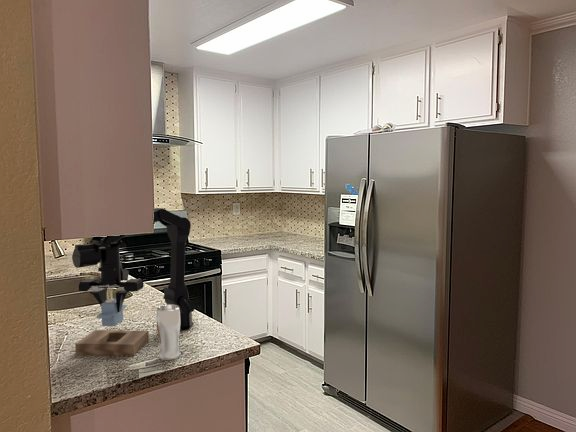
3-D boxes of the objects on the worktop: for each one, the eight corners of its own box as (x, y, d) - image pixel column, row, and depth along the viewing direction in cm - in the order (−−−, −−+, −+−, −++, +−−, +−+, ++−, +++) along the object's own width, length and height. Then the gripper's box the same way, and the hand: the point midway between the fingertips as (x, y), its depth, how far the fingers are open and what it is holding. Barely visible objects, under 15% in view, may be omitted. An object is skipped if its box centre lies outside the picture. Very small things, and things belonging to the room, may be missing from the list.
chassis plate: (148, 341, 143) (148, 330, 143) (133, 355, 131) (133, 344, 131) (95, 340, 144) (95, 330, 144) (75, 354, 132) (75, 343, 132)
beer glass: (157, 362, 126) (155, 311, 125) (157, 353, 133) (156, 305, 132) (181, 359, 128) (180, 309, 127) (181, 350, 135) (179, 303, 133)
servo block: (127, 316, 143) (126, 293, 142) (110, 329, 131) (109, 304, 130) (115, 316, 143) (114, 293, 142) (97, 329, 131) (96, 304, 130)
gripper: (149, 258, 143) (151, 304, 144) (94, 258, 144) (96, 304, 145) (135, 264, 132) (137, 315, 133) (75, 264, 133) (78, 314, 134)
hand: (112, 311), depth 137 cm, fingers closed on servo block, 4 cm apart
